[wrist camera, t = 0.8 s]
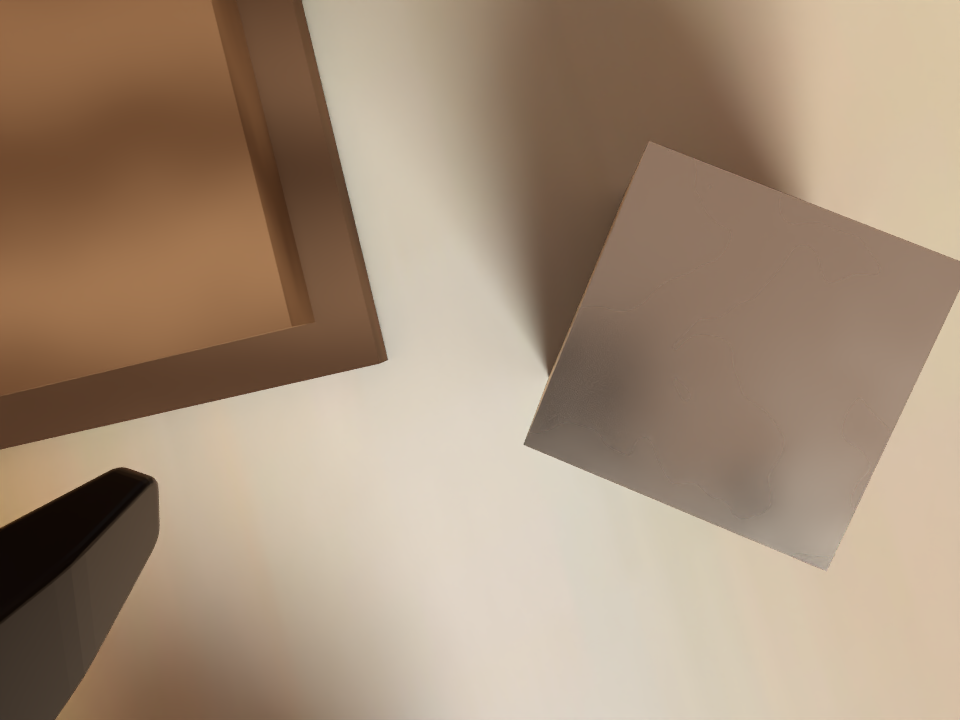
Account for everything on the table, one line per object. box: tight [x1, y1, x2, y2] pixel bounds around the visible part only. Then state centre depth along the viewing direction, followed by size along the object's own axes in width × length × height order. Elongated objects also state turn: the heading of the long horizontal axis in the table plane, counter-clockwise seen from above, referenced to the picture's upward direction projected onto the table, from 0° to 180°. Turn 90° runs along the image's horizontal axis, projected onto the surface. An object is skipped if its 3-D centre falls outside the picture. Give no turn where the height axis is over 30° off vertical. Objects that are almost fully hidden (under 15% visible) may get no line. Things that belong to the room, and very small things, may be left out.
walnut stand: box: [0, 0, 388, 449], centre depth 25 cm, size 13×13×3 cm
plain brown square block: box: [524, 141, 960, 571], centre depth 20 cm, size 6×6×10 cm
